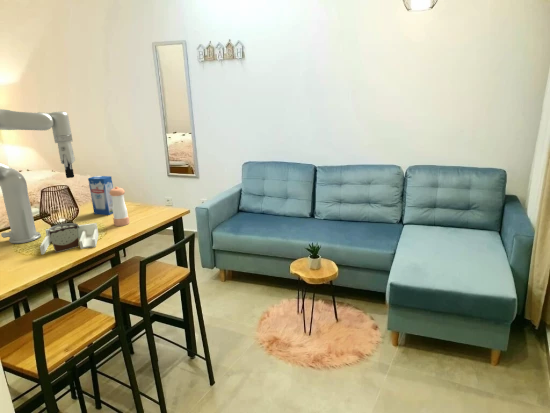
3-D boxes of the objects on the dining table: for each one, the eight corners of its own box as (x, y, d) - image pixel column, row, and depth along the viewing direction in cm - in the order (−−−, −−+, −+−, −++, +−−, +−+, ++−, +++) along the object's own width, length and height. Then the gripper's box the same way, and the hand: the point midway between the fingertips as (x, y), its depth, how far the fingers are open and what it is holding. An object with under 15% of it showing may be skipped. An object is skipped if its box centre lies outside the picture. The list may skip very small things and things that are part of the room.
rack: (41, 254, 169) (38, 241, 167) (48, 241, 183) (45, 229, 181) (95, 246, 175) (93, 233, 174) (98, 235, 189) (96, 222, 188)
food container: (78, 241, 182) (74, 220, 179) (82, 245, 177) (78, 223, 175) (48, 249, 174) (43, 227, 171) (51, 253, 170) (47, 231, 167)
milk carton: (94, 214, 222) (87, 178, 216) (101, 210, 228) (96, 175, 222) (109, 215, 219) (103, 178, 213) (116, 211, 225) (111, 176, 219)
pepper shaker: (124, 226, 200) (118, 188, 195) (111, 226, 202) (105, 188, 196) (132, 221, 207) (127, 185, 201) (119, 221, 208) (113, 184, 203)
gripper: (69, 140, 184) (77, 179, 189) (74, 136, 197) (80, 173, 203) (51, 141, 182) (59, 181, 187) (57, 137, 195) (64, 175, 200)
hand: (70, 177), depth 195 cm, fingers closed
